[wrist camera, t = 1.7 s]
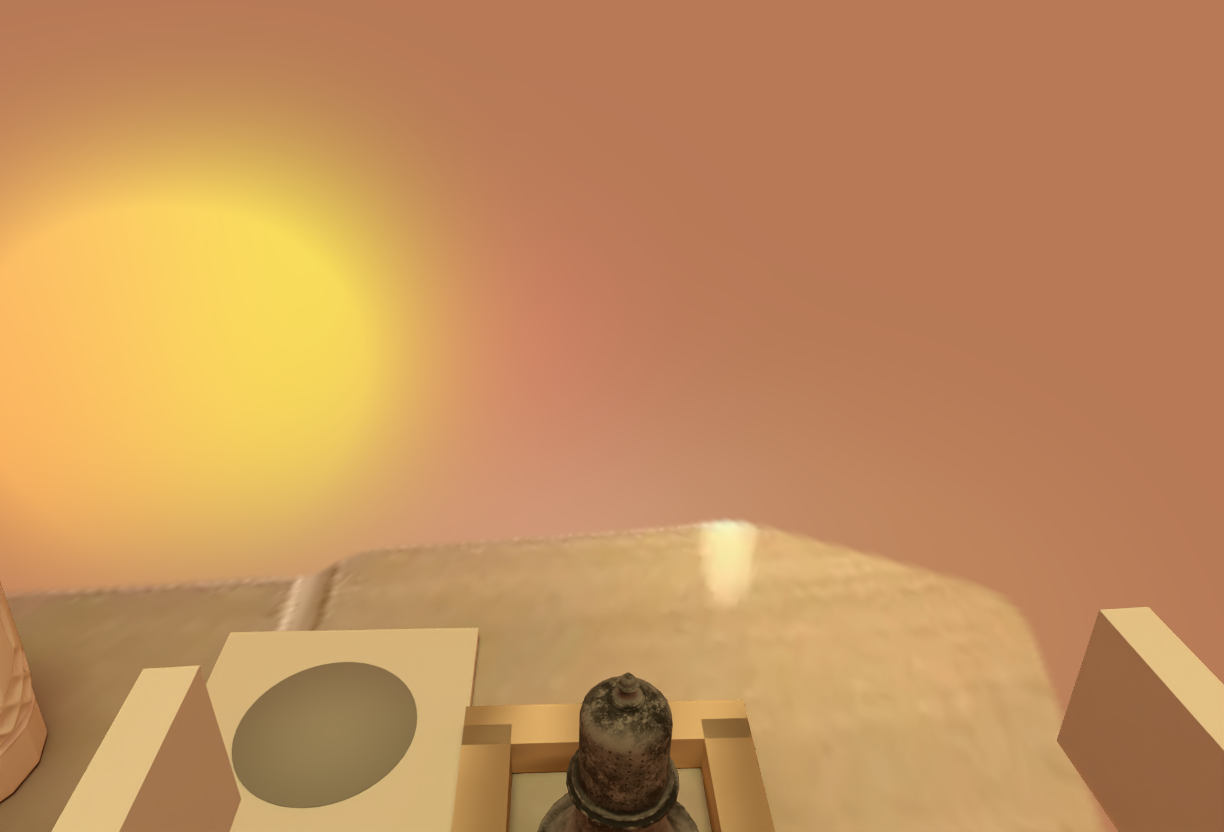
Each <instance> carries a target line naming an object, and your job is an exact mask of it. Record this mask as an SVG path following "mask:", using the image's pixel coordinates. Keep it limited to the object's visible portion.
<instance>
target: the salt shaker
mask: <svg viewBox="0 0 1224 832" xmlns="http://www.w3.org/2000/svg"><path fill="white" fill-rule="evenodd" d="M672 728H673V721H672V713H671V709H670V706H669V704H668V701H667V699H666V698H665V697H664V696H663V694H662V693H661V692H660V691H659V690H658V689H656V688H655V687H654V686H652V685H651V684H650V683H648V682H646V681H644V680H642V679H639V678H636V677H634V676H633V675H632V674H630V673H626V674H623V675H622V676H618V677H612V678H609V679H607V680H604V681H602V682H600V683H599V684H598V685H596V686H595V687H593V688H592V689H591V690H590V691H589V692H588V694H587V695H586V696H585V698H584V701H583V704H582V706H581V709H580V717H579V748H578V750H577V751H576V752H575V754H574V755H573V756H572V758H571V760H570V763H569V766H568V768H567V781H566V784H567V788H568V793H567V794H565V795H564V796H563V797H562V798H561V799H559V800H558V801H557V802H556V803H554V804H553V806H552V807H551V809H550V810H549V811H548V813H547V814H546V815H545V817H544V818H543V819H542V821H541V824H540V826H539V829H538V831H537V832H699V831H698V829H697V826H696V824H695V822H694V821H693V819H692V818H691V817H690V815H689V814H688V812H687V811H686V810H685V808H684V807H683V806H682V805H681V804H680V803H678V802H677V801H676V800H677V795H678V791H679V776H678V771H677V769H676V766H675V764H674V761H673V760H672V759H671V757H670V750H671V739H672Z"/></svg>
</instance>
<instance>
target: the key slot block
mask: <svg viewBox="0 0 1224 832" xmlns="http://www.w3.org/2000/svg"><path fill="white" fill-rule="evenodd" d="M668 704H669V706H670V709H671V713H672V721H673V728H672V739H671V750H670V757H671V759H672V760H673V761H674V764H675V766H676V768H697V767H701V770H702V776H703V782H704V788H705V793H706V799H707V805H708V811H709V817H710V822H711V828H712V832H775V830H774V826H773V822H772V818H771V813H770V809H769V805H768V801H767V797H766V793H765V789H764V785H763V780H762V776H761V772H760V768H759V764H758V760H757V756H756V752H755V747H754V743H753V739H752V735H751V731H750V727H749V723H748V718H747V714H746V710H745V706H744V702H743V700H708V701H668ZM581 706H582V704H543V705H502V706H466V710H465V719H464V727H463V736H462V745H461V753H460V762H459V770H458V779H457V787H456V796H455V804H454V813H453V821H452V830H451V832H509V820H510V802H511V783H512V773H527V772H561V771H567V768H568V766H569V763H570V760H571V758H572V756H573V755H574V754H575V752H576V751H577V750H578V748H579V717H580V709H581Z"/></svg>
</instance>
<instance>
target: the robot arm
mask: <svg viewBox="0 0 1224 832" xmlns="http://www.w3.org/2000/svg"><path fill="white" fill-rule="evenodd" d="M1057 741H1058V743H1059V744H1060V746H1061V747H1062V749H1063V750H1064V752H1065V753H1066V755H1067V756H1068V758H1069V759H1070V761H1071V762H1072V764H1073V765H1074V767H1075V768H1076V770H1077V771H1078V772H1079V774H1080V775H1081V777H1082V778H1083V780H1084V781H1085V783H1086V784H1087V786H1088V787H1089V789H1090V790H1091V792H1092V793H1093V795H1094V796H1095V798H1096V799H1097V800H1098V802H1099V803H1100V805H1101V806H1102V808H1103V809H1104V811H1105V812H1106V814H1107V815H1108V817H1109V818H1110V820H1111V821H1112V823H1113V824H1114V826H1115V827H1116V828H1117V830H1118V831H1119V832H1224V685H1223V684H1222V683H1221V682H1220V681H1219V680H1218V679H1217V678H1216V677H1215V676H1214V675H1213V674H1212V673H1211V671H1210V670H1209V669H1208V668H1207V667H1206V666H1205V665H1204V664H1203V663H1202V662H1201V661H1200V660H1199V659H1198V658H1197V657H1196V656H1195V655H1194V654H1193V653H1192V652H1191V651H1190V650H1189V649H1188V647H1187V646H1186V645H1185V644H1184V643H1183V642H1182V641H1181V640H1180V639H1179V638H1178V637H1177V636H1176V635H1175V634H1174V633H1173V632H1172V631H1171V630H1170V629H1169V628H1168V627H1167V626H1166V625H1165V624H1164V623H1163V622H1162V621H1161V620H1160V619H1159V618H1158V617H1157V615H1156V614H1155V613H1154V612H1153V611H1152V610H1151V609H1150V608H1149V607H1139V608H1123V609H1107V610H1099V613H1098V616H1097V619H1096V622H1095V625H1094V629H1093V631H1092V635H1091V638H1090V641H1089V644H1088V647H1087V650H1086V653H1085V656H1084V659H1083V662H1082V665H1081V668H1080V671H1079V674H1078V677H1077V680H1076V683H1075V687H1074V690H1073V692H1072V696H1071V699H1070V702H1069V705H1068V708H1067V711H1066V714H1065V717H1064V720H1063V723H1062V726H1061V729H1060V732H1059V735H1058V738H1057ZM240 802H241V796H240V793H239V790H238V787H237V784H236V780H235V777H234V774H233V771H232V767H231V764H230V761H229V758H228V755H227V751H226V748H225V745H224V742H223V738H222V735H221V732H220V729H219V726H218V722H217V719H216V716H215V713H214V709H213V706H212V703H211V700H210V697H209V693H208V690H207V687H206V684H205V680H204V677H203V674H202V671H201V668H200V666H184V667H168V668H152V669H143V671H142V672H141V674H140V676H139V678H138V679H137V681H136V683H135V685H134V686H133V688H132V690H131V692H130V694H129V695H128V697H127V699H126V701H125V702H124V704H123V706H122V708H121V709H120V711H119V713H118V715H117V717H116V718H115V720H114V722H113V724H112V725H111V727H110V729H109V731H108V732H107V734H106V736H105V738H104V740H103V741H102V743H101V745H100V747H99V748H98V750H97V752H96V754H95V755H94V757H93V759H92V761H91V763H90V764H89V766H88V768H87V770H86V771H85V773H84V775H83V777H82V779H81V780H80V782H79V784H78V786H77V787H76V789H75V791H74V793H73V794H72V796H71V798H70V800H69V802H68V803H67V805H66V807H65V809H64V810H63V812H62V814H61V816H60V817H59V819H58V821H57V823H56V825H55V826H54V828H53V830H52V832H230V830H231V827H232V824H233V821H234V818H235V816H236V813H237V810H238V807H239V804H240Z"/></svg>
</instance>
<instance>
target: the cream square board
mask: <svg viewBox="0 0 1224 832" xmlns="http://www.w3.org/2000/svg"><path fill="white" fill-rule="evenodd" d="M478 643H479V628H441V629H387V630H333V631H279V632H230V635H229V637H228V639H227V641H226V643H225V645H224V647H223V650H222V652H221V654H220V656H219V658H218V660H217V662H216V665H215V667H214V669H213V671H212V673H211V675H210V677H209V680H208V682H207V684H206V687H207V690H208V693H209V697H210V700H211V703H212V706H213V709H214V713H215V716H216V719H217V722H218V726H219V729H220V732H221V735H222V738H223V742H224V745H225V748H226V751H227V755H228V758H229V761H230V764H231V767H232V771H233V774H234V777H235V780H236V784H237V787H238V790H239V793H240V796H241V802H240V804H239V807H238V810H237V813H236V816H235V818H234V821H233V824H232V827H231V830H230V832H451V830H452V821H453V813H454V804H455V796H456V787H457V779H458V770H459V762H460V753H461V745H462V736H463V727H464V719H465V710H466V706H472V697H473V688H474V679H475V670H476V661H477V652H478Z"/></svg>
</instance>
